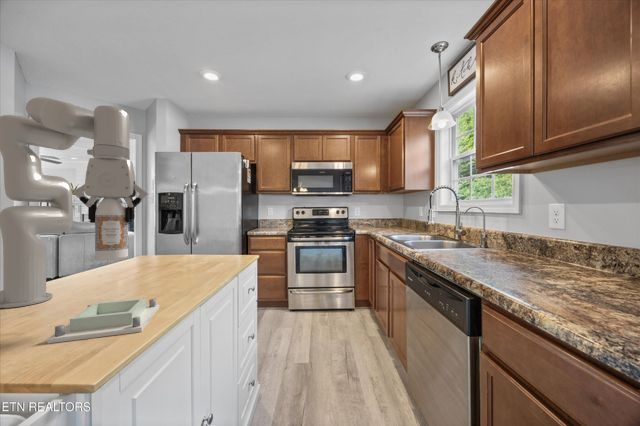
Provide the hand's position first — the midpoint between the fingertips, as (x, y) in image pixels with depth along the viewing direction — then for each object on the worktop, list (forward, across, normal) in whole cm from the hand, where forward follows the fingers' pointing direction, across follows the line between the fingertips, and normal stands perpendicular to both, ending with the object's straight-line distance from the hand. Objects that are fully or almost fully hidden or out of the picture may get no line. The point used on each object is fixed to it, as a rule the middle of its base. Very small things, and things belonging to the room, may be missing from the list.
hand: (112, 221), depth 71 cm
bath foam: (+10, 0, 0) cm, 10 cm away
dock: (+27, 0, 0) cm, 27 cm away
